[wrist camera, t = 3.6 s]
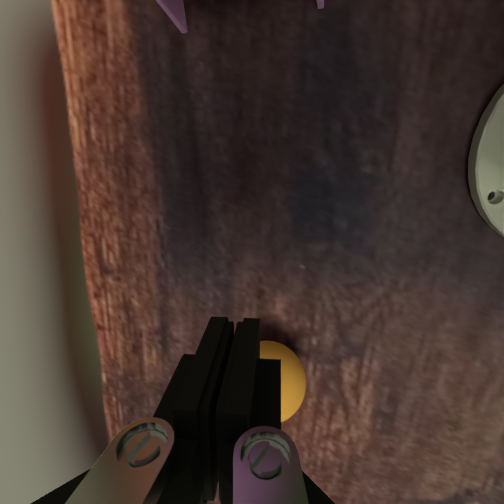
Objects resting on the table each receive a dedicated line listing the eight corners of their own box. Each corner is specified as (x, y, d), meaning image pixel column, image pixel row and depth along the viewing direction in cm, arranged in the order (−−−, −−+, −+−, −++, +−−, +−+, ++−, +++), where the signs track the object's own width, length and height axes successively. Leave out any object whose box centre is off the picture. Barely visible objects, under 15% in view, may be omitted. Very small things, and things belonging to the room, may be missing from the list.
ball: (234, 323, 24) (219, 373, 19) (305, 328, 24) (310, 380, 18) (235, 380, 26) (222, 440, 21) (302, 386, 25) (306, 448, 20)
